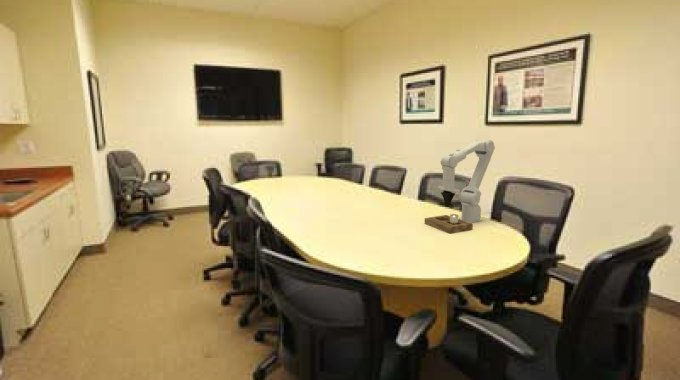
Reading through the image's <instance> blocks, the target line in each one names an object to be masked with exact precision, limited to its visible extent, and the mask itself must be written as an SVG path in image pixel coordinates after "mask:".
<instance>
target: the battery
mask: <svg viewBox="0 0 680 380" xmlns="http://www.w3.org/2000/svg"><path fill="white" fill-rule="evenodd" d="M449 216H450V224H452V225H457V224H458V219H459V214H454V213H452V214H449Z"/></svg>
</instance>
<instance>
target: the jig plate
mask: <svg viewBox="0 0 680 380" xmlns="http://www.w3.org/2000/svg"><path fill="white" fill-rule="evenodd" d="M460 219H461V218H458V224H457V225H452V224H450V215H448V214H445V215H444V214H443V215H438V216H437V215H436V216H429V217H425V218H424V224H425V225H427V226H430V227H432V228H435V229H437V230H439V231H442V232H445V233H447V234H449V235H450V234H457V233H460V232H462V233H463V232H466V231H473V226H474V223H469V222H466V221H463V220H460Z"/></svg>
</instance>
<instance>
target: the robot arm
mask: <svg viewBox="0 0 680 380" xmlns="http://www.w3.org/2000/svg"><path fill="white" fill-rule="evenodd" d="M495 146H496V145H495V142H494V141H493V140H490V139H489V140H487V139H486V140H483V139H475V140H472V142H471V143H470V144H469V145H467V146H466V147H464V148H463V149H462V148H457V149H456V150H455V151H453V152H452V153H449V154H448V155H444V156H443V157H442V158H441V160H440V165H441V169H442V185H438V186H437V191H441V192H440V194H441V196H442V198H443V201H444V205H445V207H450V206H451V205H452V201H453V198H454V196H455V195H458V200H459V202H460V204H461V218H459V219H460V220H463V221H466V222H469V223H472V224H474V223H479V222H482V219H481V218H482V217H481V215H482V209H481V206H480V205H479V204H480V201H481V195H482V192H481V191H480V186H481V184H482V181H483V179H484V176H485V174H486V171H487V170H488V167H489V164H490V162H491V159H492V156H493V154H494V150H495V148H496V147H495ZM473 153H474V154H475V155H476V157H478V161H477V163H476V166H475V169H474V171H473V173H472V176H471V177H470V180H469V183H468V185H467V186H465V187H464V188H462V190H461V191H460V189H458V188H455V178H456V177H455V173H456V172H455V171H456V168H457V166H458V164H459V163H461V162H462V161H463V160H465V159H466V158H467V156H468V155H470V154H473Z"/></svg>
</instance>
